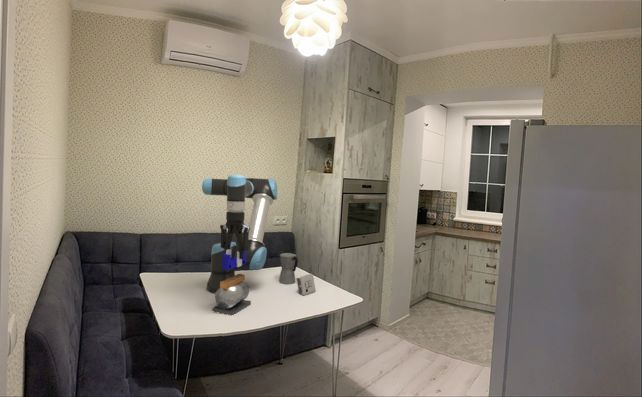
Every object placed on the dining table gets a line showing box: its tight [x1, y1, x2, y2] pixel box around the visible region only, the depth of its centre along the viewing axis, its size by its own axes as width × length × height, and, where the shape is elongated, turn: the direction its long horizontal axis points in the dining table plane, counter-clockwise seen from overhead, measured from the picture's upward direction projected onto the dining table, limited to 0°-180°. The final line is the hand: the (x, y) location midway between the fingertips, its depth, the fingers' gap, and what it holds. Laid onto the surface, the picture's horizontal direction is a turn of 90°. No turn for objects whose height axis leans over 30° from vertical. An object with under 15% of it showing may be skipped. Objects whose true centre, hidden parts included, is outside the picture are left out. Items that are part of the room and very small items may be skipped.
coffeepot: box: [278, 249, 299, 285], centre depth 185 cm, size 15×9×18 cm, turn 39°
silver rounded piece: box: [211, 273, 252, 316], centre depth 144 cm, size 14×10×13 cm
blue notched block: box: [222, 251, 246, 270], centre depth 143 cm, size 12×4×6 cm, turn 156°
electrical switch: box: [296, 273, 316, 296], centre depth 169 cm, size 9×5×9 cm, turn 141°
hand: (233, 265), depth 144 cm, fingers closed on blue notched block, 5 cm apart
